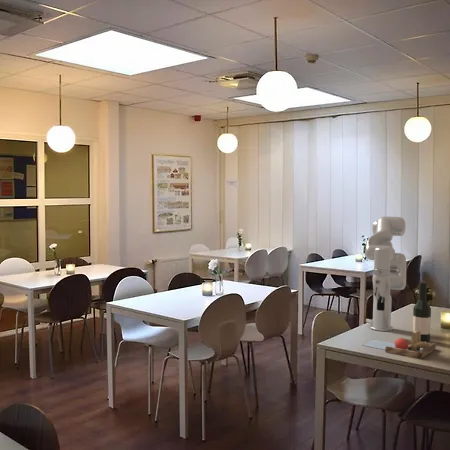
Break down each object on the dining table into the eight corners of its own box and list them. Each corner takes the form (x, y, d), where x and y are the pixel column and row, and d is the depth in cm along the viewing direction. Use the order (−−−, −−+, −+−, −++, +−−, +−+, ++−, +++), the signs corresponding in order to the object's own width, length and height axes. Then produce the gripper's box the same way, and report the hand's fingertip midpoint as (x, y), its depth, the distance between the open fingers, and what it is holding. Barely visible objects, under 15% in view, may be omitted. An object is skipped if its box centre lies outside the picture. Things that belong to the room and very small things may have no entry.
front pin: (406, 345, 255) (424, 341, 250) (407, 344, 257) (426, 341, 252) (407, 350, 255) (426, 347, 250) (409, 349, 257) (427, 346, 252)
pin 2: (413, 350, 256) (414, 331, 255) (415, 349, 258) (416, 330, 257) (419, 351, 254) (419, 332, 254) (420, 350, 256) (421, 331, 256)
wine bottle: (411, 341, 272) (414, 282, 270) (412, 337, 280) (414, 280, 278) (429, 343, 269) (431, 283, 267) (429, 339, 276) (432, 281, 275)
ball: (403, 355, 252) (393, 350, 257) (411, 348, 254) (401, 342, 259) (401, 346, 249) (390, 341, 254) (409, 339, 251) (399, 333, 256)
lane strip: (362, 345, 263) (362, 345, 263) (373, 339, 274) (373, 339, 274) (420, 356, 246) (420, 356, 246) (430, 350, 257) (430, 349, 257)
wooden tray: (385, 352, 252) (385, 345, 252) (401, 343, 269) (401, 337, 268) (421, 359, 242) (421, 352, 242) (435, 349, 259) (435, 342, 258)
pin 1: (410, 352, 252) (411, 333, 251) (412, 351, 254) (412, 332, 253) (415, 353, 250) (416, 334, 250) (417, 352, 252) (417, 333, 252)
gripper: (383, 275, 255) (382, 313, 256) (395, 272, 266) (393, 308, 267) (368, 273, 259) (367, 311, 260) (380, 270, 271) (379, 306, 272)
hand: (380, 310), depth 264 cm, fingers closed
